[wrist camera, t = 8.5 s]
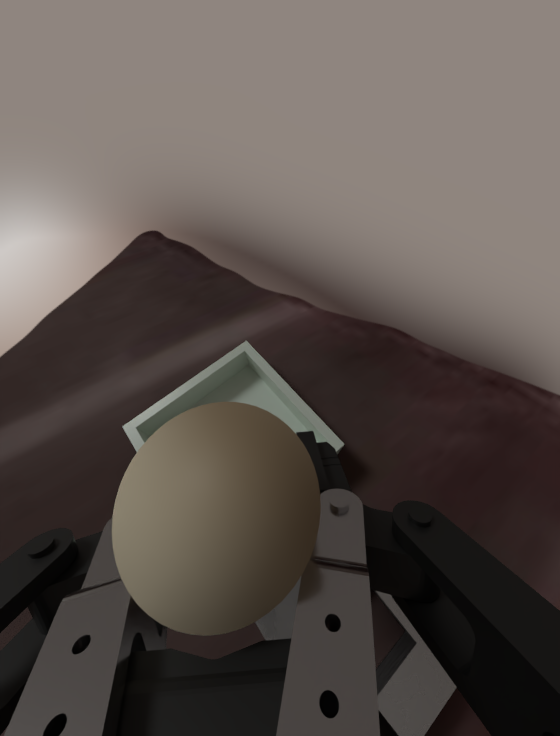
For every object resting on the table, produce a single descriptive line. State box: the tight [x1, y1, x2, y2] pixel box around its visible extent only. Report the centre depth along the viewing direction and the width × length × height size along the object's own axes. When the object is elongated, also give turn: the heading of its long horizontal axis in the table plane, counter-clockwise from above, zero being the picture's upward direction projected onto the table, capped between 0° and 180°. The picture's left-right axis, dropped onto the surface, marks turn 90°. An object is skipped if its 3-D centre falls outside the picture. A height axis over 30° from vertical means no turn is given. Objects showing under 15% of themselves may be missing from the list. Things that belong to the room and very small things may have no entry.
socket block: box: [255, 577, 456, 736], centre depth 22 cm, size 12×12×2 cm
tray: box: [123, 341, 344, 454], centre depth 30 cm, size 16×16×4 cm
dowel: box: [112, 402, 321, 636], centre depth 11 cm, size 4×4×12 cm
